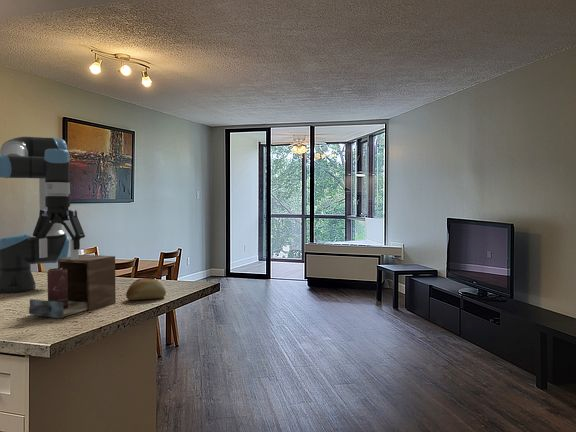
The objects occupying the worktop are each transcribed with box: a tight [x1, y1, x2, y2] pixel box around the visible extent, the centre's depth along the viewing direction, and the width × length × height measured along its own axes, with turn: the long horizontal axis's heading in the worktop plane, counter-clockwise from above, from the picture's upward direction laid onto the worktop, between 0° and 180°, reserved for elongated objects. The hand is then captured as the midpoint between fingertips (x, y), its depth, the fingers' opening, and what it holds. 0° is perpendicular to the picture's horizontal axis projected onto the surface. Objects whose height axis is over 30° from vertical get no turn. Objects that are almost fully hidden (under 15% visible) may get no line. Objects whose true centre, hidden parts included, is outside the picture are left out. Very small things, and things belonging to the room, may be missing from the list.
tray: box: [28, 298, 88, 319], centre depth 159 cm, size 14×17×5 cm
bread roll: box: [125, 277, 167, 301], centre depth 183 cm, size 10×15×8 cm, turn 121°
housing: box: [57, 254, 117, 312], centre depth 172 cm, size 14×13×18 cm
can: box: [46, 267, 68, 309], centre depth 160 cm, size 6×6×14 cm
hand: (58, 258), depth 160 cm, fingers open, 13 cm apart
